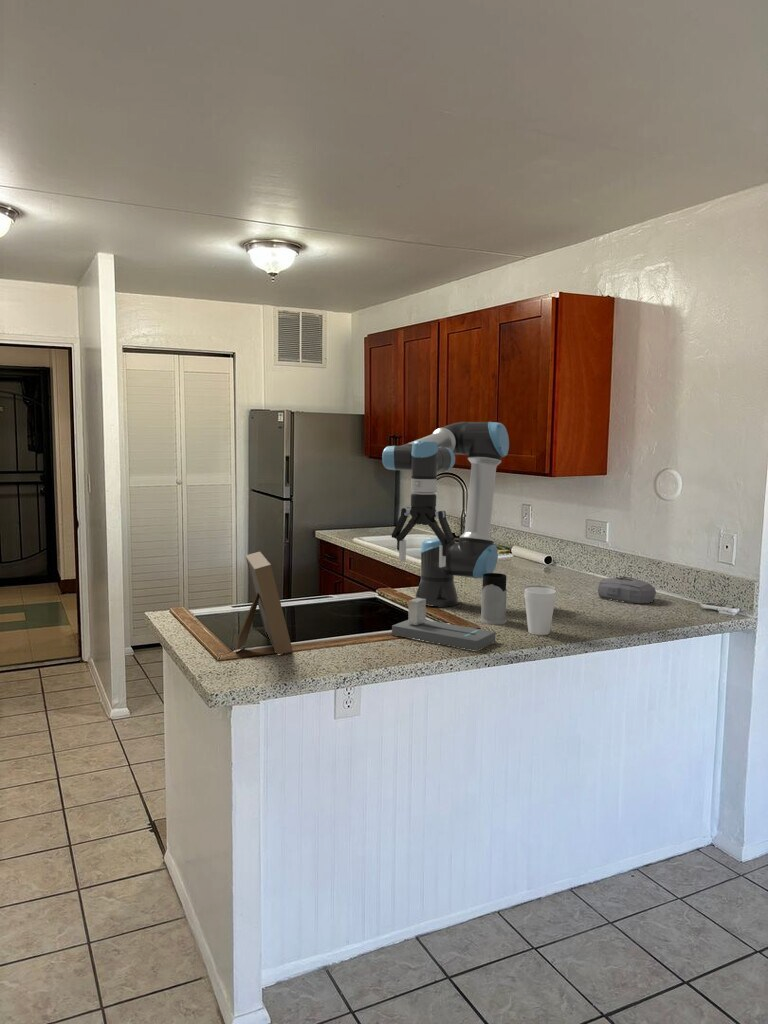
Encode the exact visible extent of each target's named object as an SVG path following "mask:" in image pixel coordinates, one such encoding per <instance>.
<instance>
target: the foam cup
mask: <svg viewBox="0 0 768 1024" xmlns="http://www.w3.org/2000/svg"><path fill="white" fill-rule="evenodd" d="M524 597H525V603H526V606H525V610H526V612H525V613H526V623H527V630H528V633H529V634H532V635H536V636H546V635H549V634H550V632H551V628H552V627H551V626H552V620H553V615H554V608H555V603H556V600H557V591H556V589H555V590H553V589H550V588H541V587H531V588H526V589H525V590H523V598H524ZM525 603H524V604H525Z"/></svg>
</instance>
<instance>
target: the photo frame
mask: <svg viewBox="0 0 768 1024" xmlns="http://www.w3.org/2000/svg"><path fill="white" fill-rule="evenodd" d="M244 557H245V559H246V564H247V567H248V570H249V575H250V578H251V582H252V586H253V590H254V594H255V597H254V599H253V601H252V604H251V605H250V608H249V611H248V613H247V615H246V617H245V619H244V622H243V623H242V626H241V628H240V631H239V633H238V635H237V638H236V647H235V650H236V649H238V648H240V647H242V646H244V645H245V646H246V643H247V642H248V641H247V640H248V637H249V633H250V631H251V626H252V624H253V620H254V617H255V614H256V611H257V608H258V610H259V613H260V616H261V620H262V624H263V629H264V632H265V633H266V632H267V634H268V637H269V639H270V641H271V643H272V645H273V647H274V649H275V651H276V652H275V651H274V652H275V654H276V653H277V654H279V653H285V654H289V653H291V652H293V651H294V650H293V646H292V642H291V639H290V635H289V629H288V626H287V622H286V619H285V618H286V617H285V615H284V611H283V608H282V607H283V606H282V603H281V600H280V596H279V591H278V588H277V584H276V580H275V576H274V572H273V568H272V563H270V562H269V561H268V559H267V558H266V557H265V556H264V554H263V553H262V552H261V551H257V552H256V551H255V552H254V553H249V554H246V555H244ZM268 637H267V638H268ZM269 639H268V640H269ZM270 641H269V642H270ZM271 643H270V644H271ZM272 645H271V646H272ZM273 647H272V648H273ZM274 649H273V650H274ZM277 654H276V655H277Z"/></svg>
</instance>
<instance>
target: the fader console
mask: <svg viewBox="0 0 768 1024" xmlns="http://www.w3.org/2000/svg"><path fill="white" fill-rule="evenodd" d="M496 632H497V631H491V630H487V629H480V628H475V627H469V626H463V625H462V626H461V625H457V624H451V623H446V622H440V621H435V620H428V619H426V622H424V623H421V624H419V625H413V624H408V619H406V620H404V621H401V622H398V623H396V624H393V625H391V635H392V634H393V635H397V636H403V637H410V638H415V639H420V640H424V641H429V642H434V643H440V644H444V645H450V646H455V647H459V648H458V649H460V648H465V649H471V650H479V649H481V648H483V647H485V646H487V645H489V646H491V645H492V643H493V642H494V643H496ZM397 636H396V637H397ZM434 643H433V644H434ZM494 643H493V644H494ZM490 644H491V645H490ZM444 645H443V646H444ZM455 647H454V648H455ZM487 647H488V646H487ZM485 648H486V647H485ZM465 649H464V650H465ZM483 649H484V648H483ZM481 650H482V649H481ZM479 651H480V650H479Z"/></svg>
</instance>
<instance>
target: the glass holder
mask: <svg viewBox="0 0 768 1024" xmlns="http://www.w3.org/2000/svg"><path fill="white" fill-rule="evenodd" d="M507 592H508V591H507V574H504V573H497V572H493V573H486V574H483V578H482V587H481V602H480V603H481V608H480V611H481V614H480V617H479V618H480V619H479V622H480V621H481V622H480V623H482V622H484V623H483V624H486V623H489V624H488V625H503V624H507V623H508V620H507ZM506 622H507V623H506Z"/></svg>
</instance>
